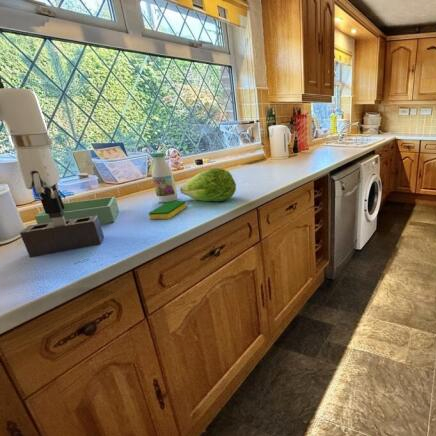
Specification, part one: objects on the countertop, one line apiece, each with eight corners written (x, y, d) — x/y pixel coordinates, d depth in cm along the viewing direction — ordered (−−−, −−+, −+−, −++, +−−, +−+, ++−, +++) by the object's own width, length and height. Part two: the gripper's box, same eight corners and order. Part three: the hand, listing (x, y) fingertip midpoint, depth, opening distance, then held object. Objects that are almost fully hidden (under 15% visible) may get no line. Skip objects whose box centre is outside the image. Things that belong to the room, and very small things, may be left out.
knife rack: (29, 257, 80) (19, 232, 77) (37, 248, 85) (28, 225, 82) (100, 244, 86) (93, 221, 84) (104, 236, 91) (97, 215, 89)
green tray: (41, 233, 96) (34, 216, 94) (54, 220, 108) (49, 205, 106) (114, 221, 104) (109, 206, 102) (119, 210, 116) (115, 196, 114)
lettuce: (200, 195, 138) (187, 167, 131) (244, 191, 129) (232, 161, 123) (178, 211, 126) (162, 181, 119) (225, 208, 117) (210, 176, 111)
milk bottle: (162, 198, 132) (151, 151, 125) (180, 197, 132) (171, 151, 126) (154, 203, 124) (143, 154, 118) (174, 202, 125) (163, 153, 118)
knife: (59, 245, 83) (40, 193, 78) (61, 242, 85) (43, 191, 80) (71, 243, 84) (53, 191, 79) (73, 240, 86) (56, 189, 81)
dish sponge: (187, 206, 118) (185, 200, 117) (169, 218, 105) (168, 212, 104) (169, 207, 118) (167, 201, 117) (149, 219, 105) (147, 212, 104)
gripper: (24, 140, 81) (47, 206, 87) (-4, 145, 67) (26, 222, 73) (59, 138, 84) (79, 202, 90) (40, 143, 70) (65, 217, 77)
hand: (55, 210), depth 82 cm, fingers closed on knife, 2 cm apart
